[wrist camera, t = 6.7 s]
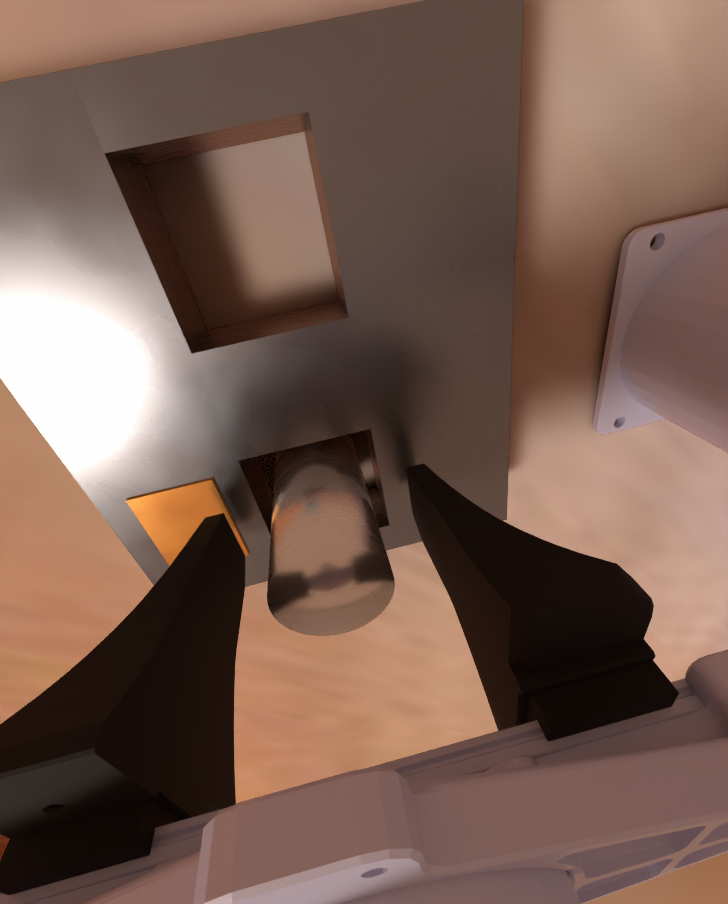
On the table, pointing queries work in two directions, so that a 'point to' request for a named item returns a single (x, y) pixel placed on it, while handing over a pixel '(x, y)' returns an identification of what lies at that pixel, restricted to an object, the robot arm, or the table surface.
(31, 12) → the table surface
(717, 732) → the robot arm
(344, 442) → the steel peg
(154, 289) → the plate
